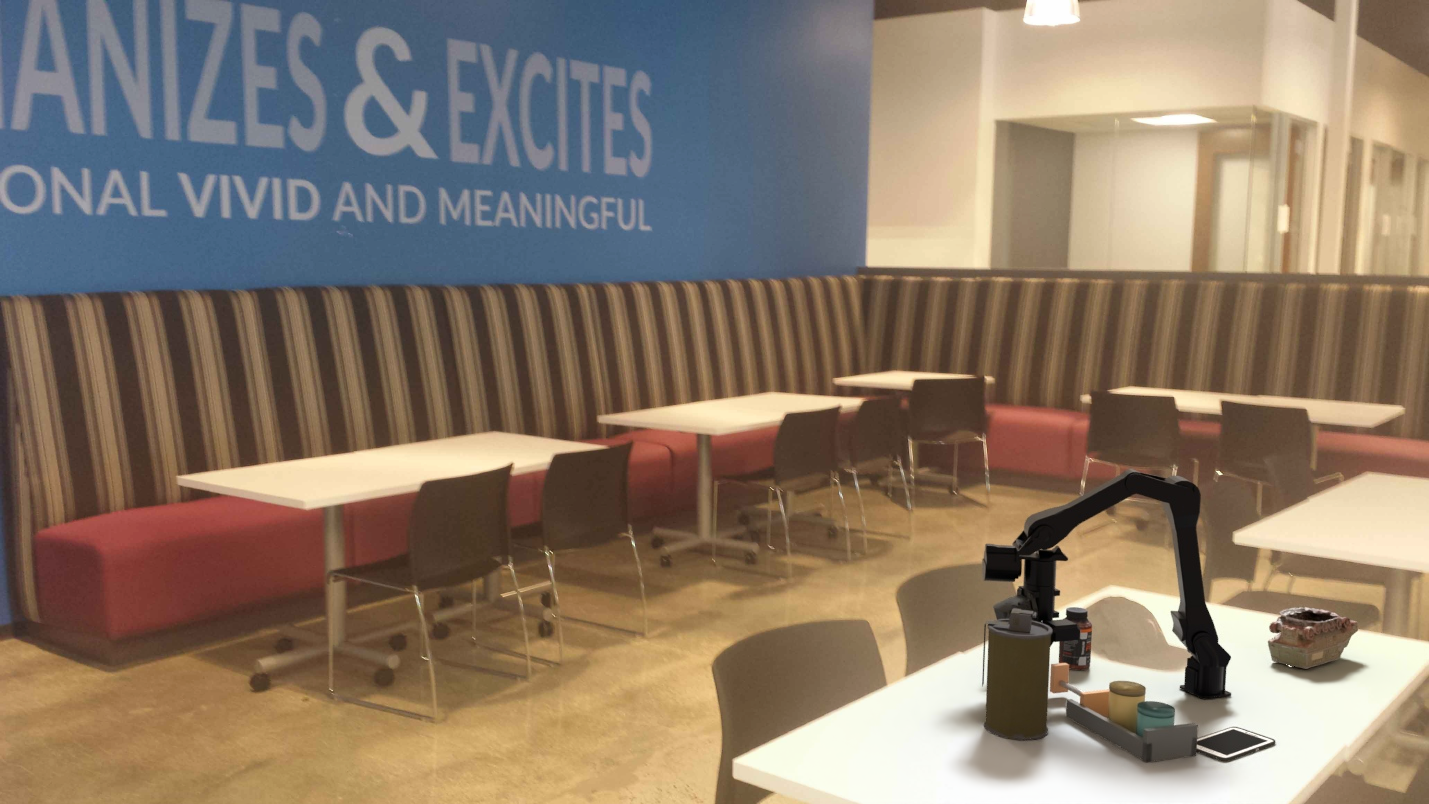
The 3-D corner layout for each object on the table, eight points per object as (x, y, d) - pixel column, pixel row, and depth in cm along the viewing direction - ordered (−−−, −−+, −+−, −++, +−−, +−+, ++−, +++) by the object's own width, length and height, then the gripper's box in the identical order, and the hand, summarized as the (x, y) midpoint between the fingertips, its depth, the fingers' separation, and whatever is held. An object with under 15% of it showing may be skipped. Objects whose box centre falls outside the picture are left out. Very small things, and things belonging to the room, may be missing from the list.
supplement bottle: (1091, 672, 233) (1094, 614, 232) (1059, 669, 235) (1062, 612, 233) (1088, 662, 239) (1091, 606, 238) (1057, 660, 240) (1059, 604, 239)
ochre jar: (1128, 725, 205) (1130, 679, 204) (1150, 737, 200) (1153, 690, 199) (1099, 729, 203) (1102, 682, 203) (1121, 741, 198) (1124, 693, 197)
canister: (1050, 722, 206) (1055, 606, 204) (1045, 744, 196) (1051, 622, 194) (984, 714, 209) (989, 600, 208) (977, 735, 200) (982, 615, 198)
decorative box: (1243, 655, 246) (1246, 608, 245) (1309, 643, 255) (1312, 598, 254) (1301, 674, 234) (1304, 625, 233) (1368, 661, 243) (1371, 613, 243)
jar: (1156, 741, 198) (1159, 699, 197) (1180, 754, 193) (1183, 711, 192) (1127, 745, 196) (1129, 703, 196) (1150, 758, 191) (1153, 715, 190)
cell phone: (1180, 749, 196) (1181, 743, 196) (1234, 731, 204) (1234, 725, 204) (1224, 765, 190) (1224, 759, 190) (1277, 745, 198) (1278, 740, 198)
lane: (1112, 711, 212) (1113, 683, 211) (1196, 755, 192) (1197, 724, 192) (1065, 716, 209) (1067, 688, 208) (1146, 762, 189) (1147, 731, 189)
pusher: (1073, 692, 221) (1074, 661, 220) (1117, 716, 209) (1119, 683, 208) (1040, 696, 218) (1041, 665, 218) (1082, 720, 206) (1084, 687, 206)
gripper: (974, 573, 230) (971, 654, 232) (1030, 598, 213) (1026, 685, 214) (1025, 570, 234) (1022, 649, 235) (1084, 594, 216) (1080, 679, 218)
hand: (1036, 665), depth 226 cm, fingers closed
